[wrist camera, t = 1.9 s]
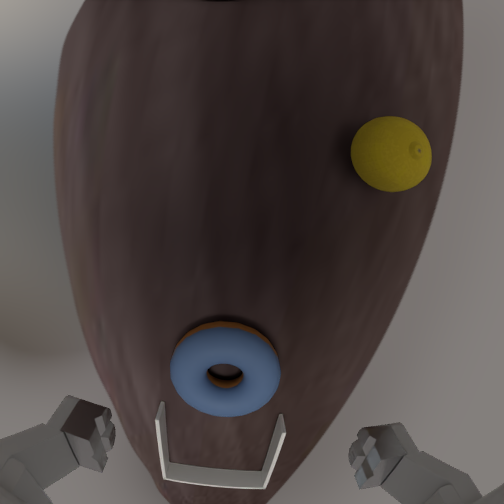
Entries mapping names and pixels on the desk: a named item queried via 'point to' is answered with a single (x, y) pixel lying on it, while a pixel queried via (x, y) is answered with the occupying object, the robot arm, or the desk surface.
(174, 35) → the desk surface
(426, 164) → the lemon
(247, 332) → the doughnut
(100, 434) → the robot arm
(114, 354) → the desk surface
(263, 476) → the box
